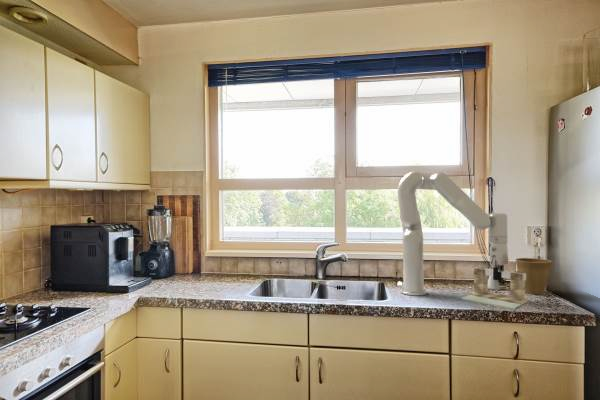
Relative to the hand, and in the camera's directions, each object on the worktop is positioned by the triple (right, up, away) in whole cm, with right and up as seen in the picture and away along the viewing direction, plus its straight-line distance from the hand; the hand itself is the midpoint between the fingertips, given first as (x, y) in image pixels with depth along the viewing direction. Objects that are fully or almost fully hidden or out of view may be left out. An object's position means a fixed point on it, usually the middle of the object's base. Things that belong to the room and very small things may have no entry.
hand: (498, 279), depth 173 cm
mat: (-7, -9, -7) cm, 13 cm away
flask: (+7, -9, +18) cm, 22 cm away
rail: (0, +1, 0) cm, 1 cm away
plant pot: (+22, -9, +9) cm, 26 cm away
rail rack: (0, -9, 0) cm, 9 cm away
